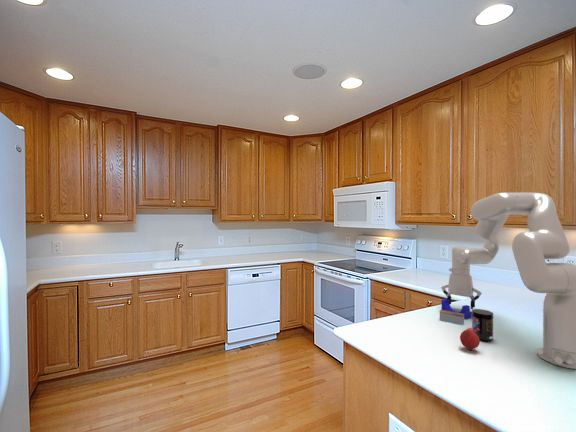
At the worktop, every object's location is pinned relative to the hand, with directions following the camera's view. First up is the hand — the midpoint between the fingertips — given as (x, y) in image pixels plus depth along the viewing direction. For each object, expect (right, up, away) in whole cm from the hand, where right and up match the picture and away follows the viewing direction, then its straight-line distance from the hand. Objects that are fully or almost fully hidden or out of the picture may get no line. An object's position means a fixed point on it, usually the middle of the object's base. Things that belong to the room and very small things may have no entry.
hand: (460, 306), depth 142 cm
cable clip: (-5, -3, -5) cm, 8 cm away
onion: (-22, -2, -42) cm, 47 cm away
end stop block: (-13, -2, -14) cm, 19 cm away
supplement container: (-11, -2, -32) cm, 34 cm away
